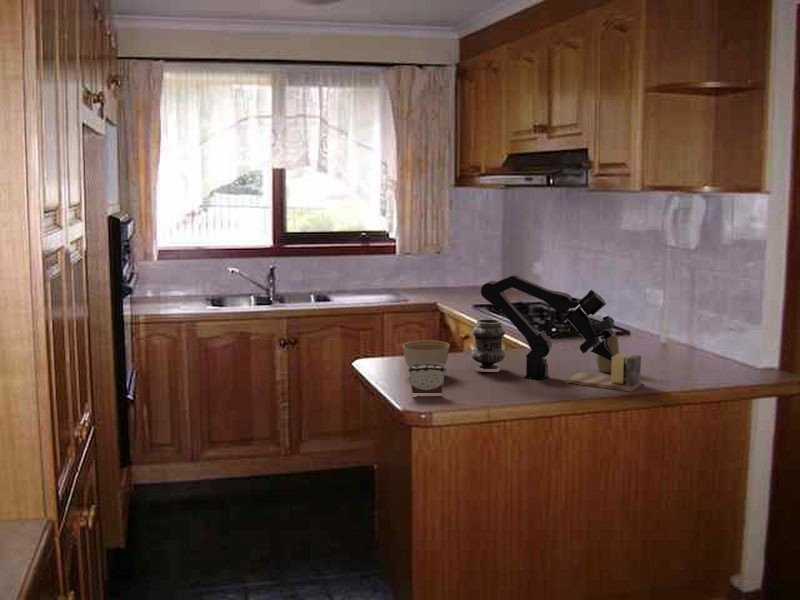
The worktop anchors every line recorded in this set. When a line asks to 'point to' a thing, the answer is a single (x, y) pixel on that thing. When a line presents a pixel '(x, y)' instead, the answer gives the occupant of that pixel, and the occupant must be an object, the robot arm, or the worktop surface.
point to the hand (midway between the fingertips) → (613, 360)
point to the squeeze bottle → (602, 362)
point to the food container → (427, 377)
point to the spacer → (618, 368)
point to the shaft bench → (602, 381)
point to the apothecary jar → (488, 343)
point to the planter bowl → (426, 352)
